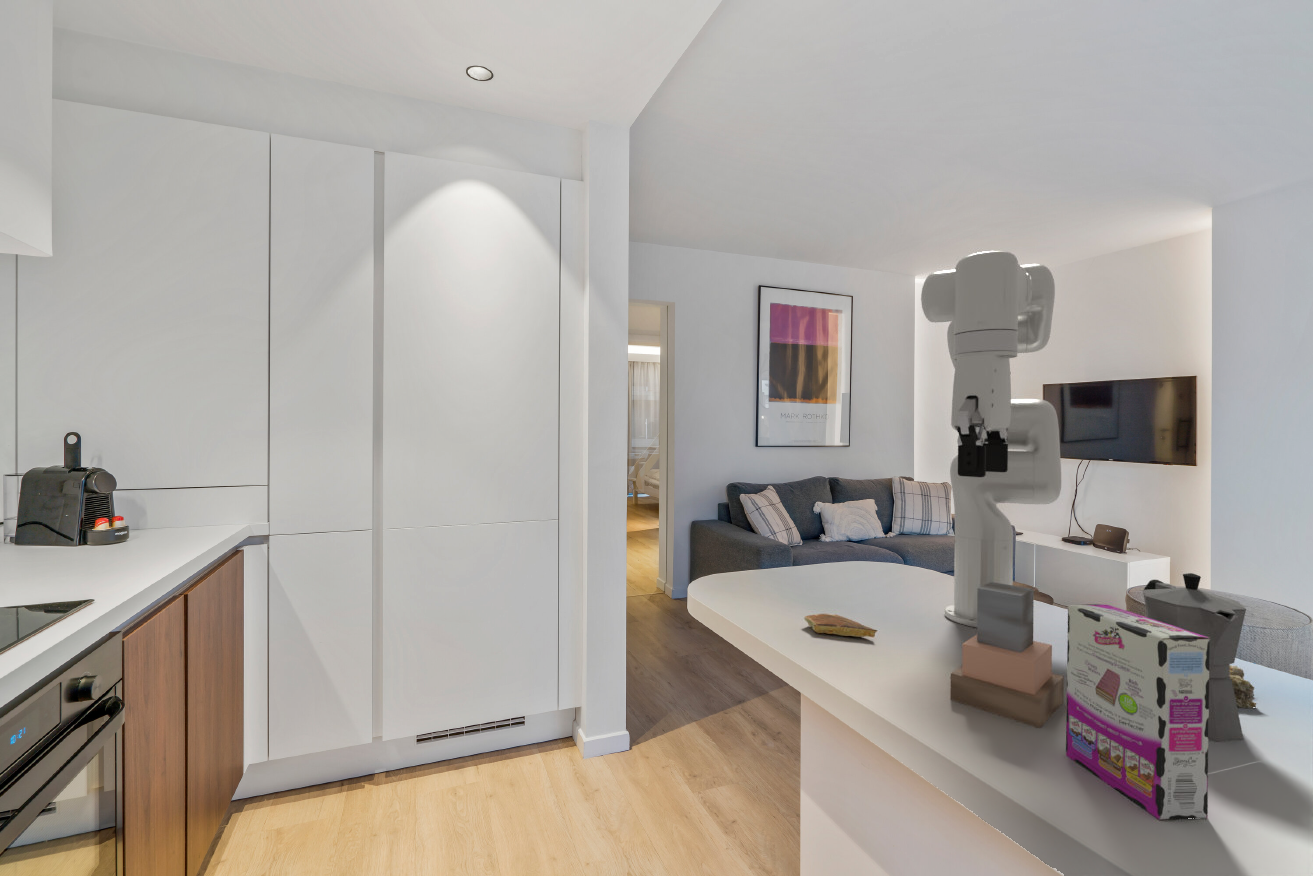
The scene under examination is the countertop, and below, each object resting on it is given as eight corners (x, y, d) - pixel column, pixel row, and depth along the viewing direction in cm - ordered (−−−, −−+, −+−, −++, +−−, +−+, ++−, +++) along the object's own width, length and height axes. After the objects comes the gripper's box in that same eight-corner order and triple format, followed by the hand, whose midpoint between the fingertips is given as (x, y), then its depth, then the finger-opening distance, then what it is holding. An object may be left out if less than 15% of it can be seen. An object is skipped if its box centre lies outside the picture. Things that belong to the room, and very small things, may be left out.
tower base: (979, 682, 83) (979, 654, 83) (1063, 707, 75) (1063, 676, 75) (950, 704, 76) (950, 673, 76) (1039, 733, 69) (1040, 699, 69)
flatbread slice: (877, 639, 97) (877, 628, 97) (840, 645, 94) (840, 634, 94) (834, 621, 107) (834, 611, 107) (799, 626, 104) (799, 616, 104)
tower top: (983, 658, 81) (983, 629, 81) (1051, 676, 75) (1051, 644, 75) (962, 674, 75) (962, 643, 75) (1034, 694, 70) (1034, 661, 70)
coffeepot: (1282, 759, 63) (1285, 590, 63) (1179, 747, 65) (1181, 584, 65) (1187, 696, 78) (1189, 560, 78) (1105, 689, 80) (1107, 556, 80)
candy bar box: (1212, 821, 52) (1214, 637, 52) (1160, 824, 52) (1162, 638, 52) (1106, 753, 63) (1107, 601, 63) (1062, 755, 63) (1064, 602, 63)
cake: (1175, 700, 77) (1175, 659, 77) (1157, 674, 86) (1157, 637, 86) (1281, 720, 72) (1282, 676, 72) (1251, 689, 81) (1251, 650, 81)
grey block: (990, 633, 79) (991, 581, 79) (1033, 643, 76) (1033, 589, 76) (977, 642, 76) (977, 588, 76) (1020, 652, 72) (1021, 595, 72)
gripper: (975, 354, 88) (974, 468, 89) (931, 344, 76) (930, 476, 76) (1033, 350, 83) (1031, 471, 83) (996, 338, 71) (994, 480, 71)
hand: (983, 474), depth 80 cm, fingers open, 9 cm apart
